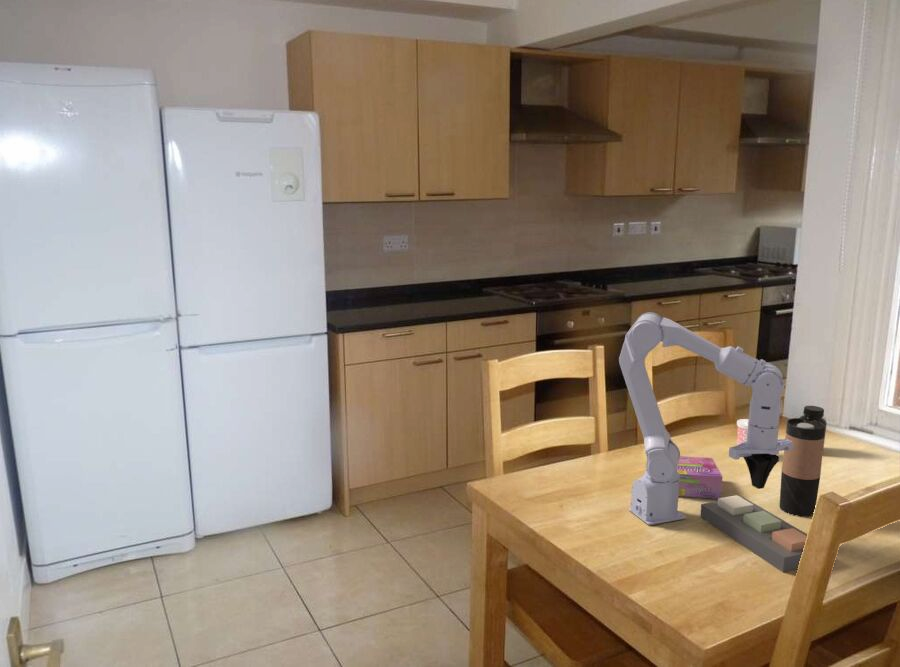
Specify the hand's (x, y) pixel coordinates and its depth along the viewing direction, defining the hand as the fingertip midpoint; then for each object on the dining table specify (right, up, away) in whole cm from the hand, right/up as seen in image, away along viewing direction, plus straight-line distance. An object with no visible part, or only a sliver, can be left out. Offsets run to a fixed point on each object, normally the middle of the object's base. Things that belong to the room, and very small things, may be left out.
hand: (757, 486), depth 151 cm
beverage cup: (+15, -1, +42) cm, 45 cm away
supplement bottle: (+33, 0, +45) cm, 56 cm away
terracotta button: (+2, -9, -10) cm, 14 cm away
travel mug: (+13, -8, +11) cm, 19 cm away
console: (0, -10, -2) cm, 10 cm away
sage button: (0, -8, -2) cm, 8 cm away
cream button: (-3, -6, +5) cm, 8 cm away
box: (-5, -1, +28) cm, 28 cm away
